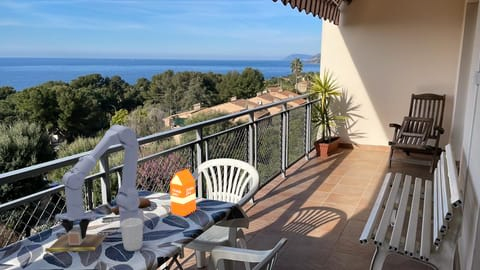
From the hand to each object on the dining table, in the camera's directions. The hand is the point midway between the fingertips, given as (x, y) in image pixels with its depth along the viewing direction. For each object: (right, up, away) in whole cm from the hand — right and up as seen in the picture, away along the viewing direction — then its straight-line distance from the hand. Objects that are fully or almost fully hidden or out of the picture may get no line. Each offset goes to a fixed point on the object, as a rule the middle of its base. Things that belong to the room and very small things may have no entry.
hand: (77, 237), depth 141 cm
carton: (0, -1, 0) cm, 1 cm away
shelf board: (-1, -3, +3) cm, 4 cm away
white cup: (+21, -4, 0) cm, 21 cm away
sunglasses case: (+8, +3, +39) cm, 40 cm away
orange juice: (+35, +3, +34) cm, 49 cm away
